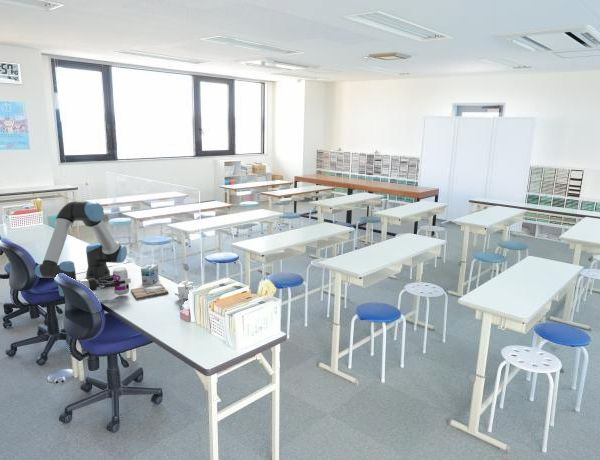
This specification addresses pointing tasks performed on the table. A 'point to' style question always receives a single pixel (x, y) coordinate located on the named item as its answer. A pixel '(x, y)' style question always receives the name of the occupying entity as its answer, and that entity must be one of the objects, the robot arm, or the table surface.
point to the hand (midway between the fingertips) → (128, 278)
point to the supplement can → (119, 275)
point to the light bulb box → (149, 274)
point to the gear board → (149, 291)
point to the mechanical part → (184, 289)
